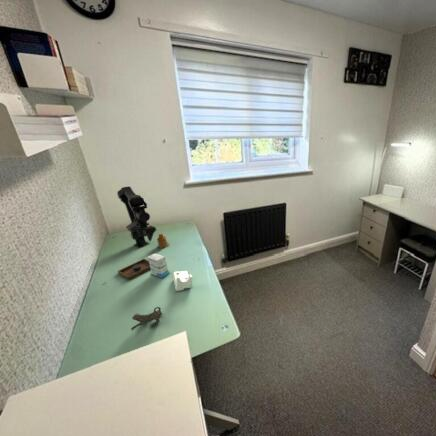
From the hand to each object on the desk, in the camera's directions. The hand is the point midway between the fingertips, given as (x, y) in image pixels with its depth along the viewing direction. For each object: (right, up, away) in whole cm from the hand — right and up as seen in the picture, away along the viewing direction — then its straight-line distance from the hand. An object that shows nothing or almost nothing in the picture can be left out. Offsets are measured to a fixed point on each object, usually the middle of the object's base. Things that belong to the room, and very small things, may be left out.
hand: (146, 238), depth 151 cm
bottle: (+3, -6, +15) cm, 17 cm away
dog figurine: (+30, -34, -46) cm, 64 cm away
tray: (+1, -18, -11) cm, 21 cm away
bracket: (+33, -23, -20) cm, 45 cm away
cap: (+2, -16, -12) cm, 19 cm away
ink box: (+17, -19, -14) cm, 29 cm away
